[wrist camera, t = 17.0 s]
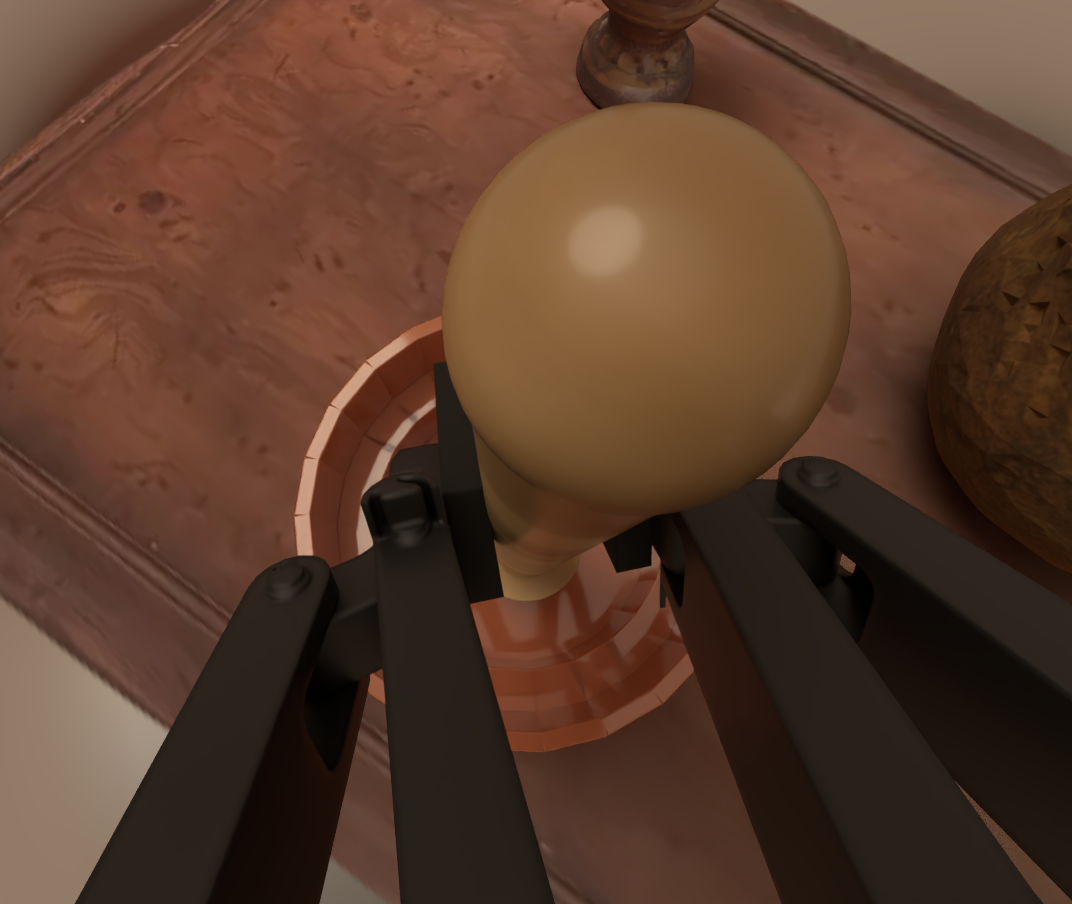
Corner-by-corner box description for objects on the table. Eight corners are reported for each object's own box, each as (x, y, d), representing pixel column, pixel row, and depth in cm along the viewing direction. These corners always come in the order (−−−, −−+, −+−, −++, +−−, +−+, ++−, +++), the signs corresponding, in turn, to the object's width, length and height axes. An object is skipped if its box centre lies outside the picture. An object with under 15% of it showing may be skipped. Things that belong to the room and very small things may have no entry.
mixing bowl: (502, 791, 23) (502, 874, 16) (280, 509, 25) (200, 479, 19) (750, 541, 26) (835, 523, 20) (534, 314, 29) (544, 229, 22)
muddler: (517, 621, 22) (719, 931, 2) (456, 548, 23) (57, 126, 2) (587, 556, 23) (1280, 245, 3) (526, 488, 24) (690, -208, 3)
